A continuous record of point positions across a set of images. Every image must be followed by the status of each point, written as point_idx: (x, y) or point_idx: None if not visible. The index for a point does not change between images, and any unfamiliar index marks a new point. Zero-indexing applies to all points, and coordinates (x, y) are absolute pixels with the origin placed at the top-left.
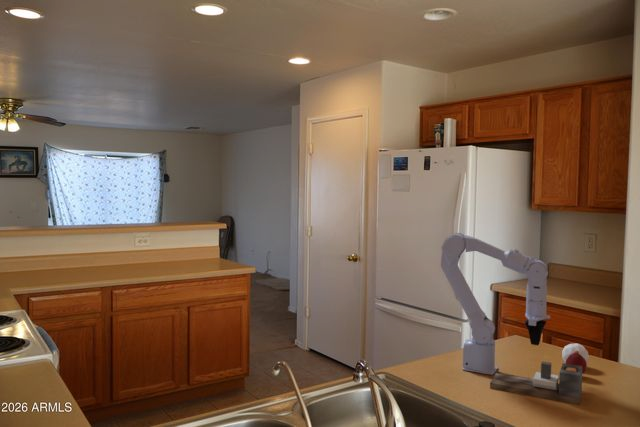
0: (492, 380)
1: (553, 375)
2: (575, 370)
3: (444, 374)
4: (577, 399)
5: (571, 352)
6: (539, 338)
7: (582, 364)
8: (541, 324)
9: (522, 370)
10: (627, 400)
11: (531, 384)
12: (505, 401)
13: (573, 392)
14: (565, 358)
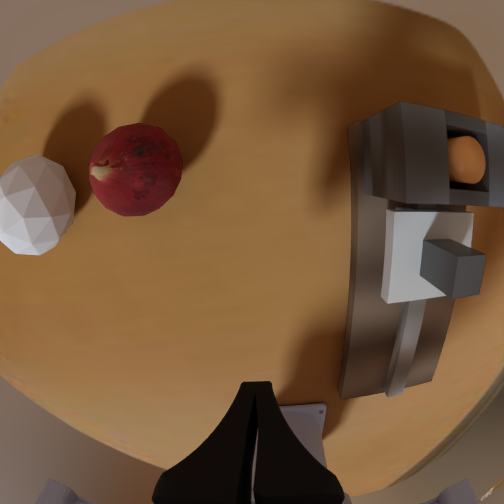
0: (413, 384)
1: (404, 233)
2: (476, 141)
3: (363, 456)
4: None
5: (46, 214)
6: (279, 410)
7: (158, 133)
8: (331, 501)
9: (212, 349)
10: (325, 4)
11: None
12: (490, 313)
13: None
14: (63, 233)
